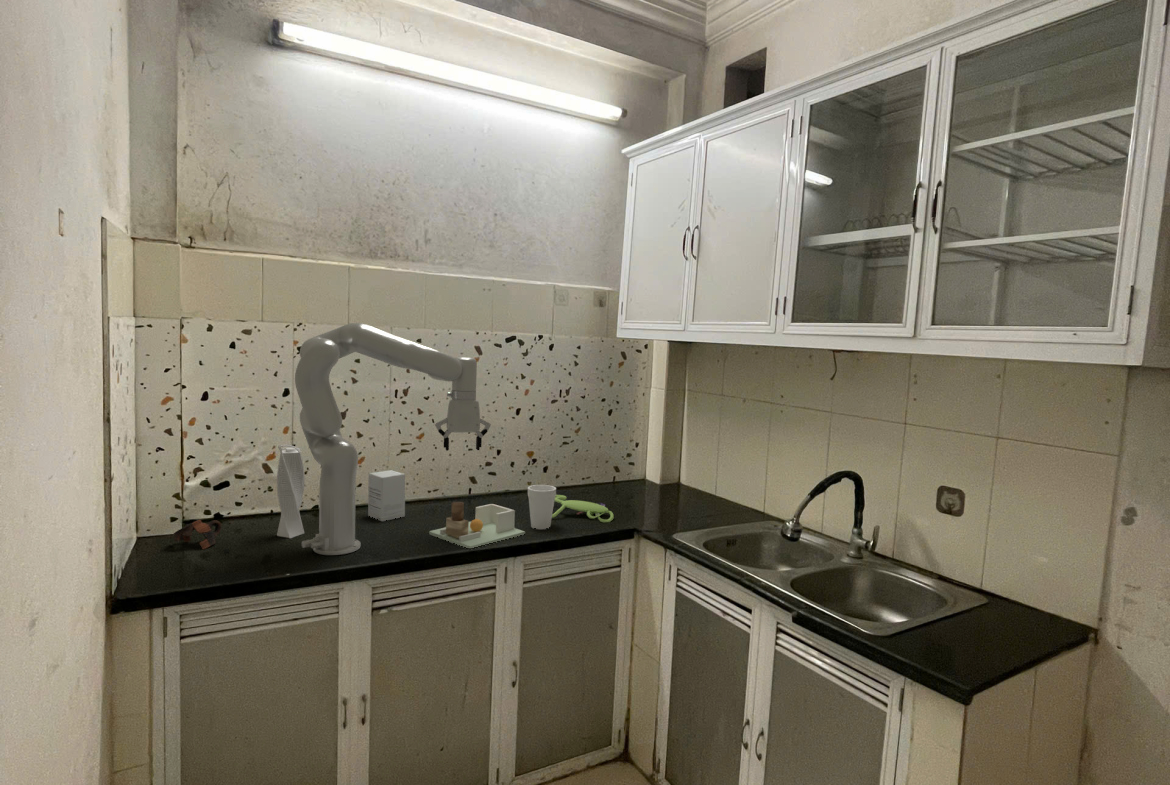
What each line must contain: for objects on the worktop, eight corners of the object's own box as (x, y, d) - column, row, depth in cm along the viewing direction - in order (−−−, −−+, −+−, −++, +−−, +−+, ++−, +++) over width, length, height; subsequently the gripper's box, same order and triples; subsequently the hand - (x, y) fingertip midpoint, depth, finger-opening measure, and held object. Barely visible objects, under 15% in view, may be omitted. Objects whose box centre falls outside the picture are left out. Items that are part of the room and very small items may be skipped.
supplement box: (391, 511, 221) (391, 469, 220) (405, 517, 215) (406, 473, 214) (367, 516, 214) (367, 472, 213) (381, 522, 209) (382, 477, 207)
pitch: (469, 549, 184) (470, 526, 184) (429, 534, 197) (429, 512, 197) (524, 534, 201) (525, 512, 200) (484, 521, 214) (484, 500, 213)
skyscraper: (289, 540, 186) (289, 446, 184) (270, 536, 189) (270, 443, 187) (309, 533, 194) (310, 442, 192) (290, 529, 196) (290, 440, 194)
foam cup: (542, 521, 217) (543, 483, 216) (560, 527, 210) (561, 488, 209) (520, 525, 210) (521, 487, 209) (538, 532, 204) (540, 492, 203)
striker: (459, 539, 189) (460, 506, 188) (445, 534, 194) (445, 502, 193) (468, 536, 192) (469, 504, 191) (454, 531, 196) (455, 500, 196)
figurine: (544, 506, 238) (544, 491, 237) (615, 510, 235) (615, 496, 235) (535, 519, 219) (536, 503, 219) (612, 524, 217) (613, 508, 217)
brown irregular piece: (195, 555, 173) (179, 529, 172) (179, 563, 178) (163, 538, 177) (234, 533, 183) (219, 508, 183) (218, 541, 188) (203, 517, 187)
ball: (475, 534, 196) (475, 521, 195) (467, 531, 198) (467, 519, 198) (485, 531, 199) (485, 519, 198) (477, 529, 201) (477, 516, 201)
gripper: (436, 396, 194) (435, 452, 195) (493, 397, 199) (491, 451, 200) (434, 394, 201) (433, 448, 202) (489, 395, 206) (487, 447, 207)
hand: (462, 449), depth 201 cm, fingers open, 9 cm apart
